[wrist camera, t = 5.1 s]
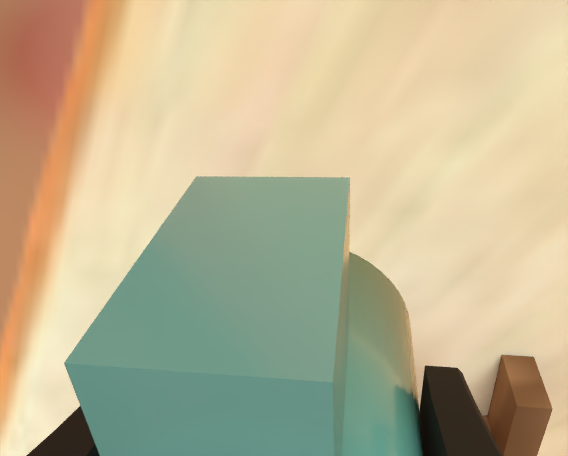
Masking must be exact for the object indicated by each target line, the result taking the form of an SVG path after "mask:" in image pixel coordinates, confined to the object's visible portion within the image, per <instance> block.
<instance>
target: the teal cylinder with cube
mask: <svg viewBox="0 0 568 456" xmlns="http://www.w3.org/2000/svg"><path fill="white" fill-rule="evenodd" d="M349 219H350V178H318V177H196V178H195V179H194V181H193V182H192V183H191V185H190V186H189V188H188V189H187V191H186V192H185V193H184V195H183V196H182V198H181V199H180V200H179V202H178V203H177V205H176V206H175V207H174V209H173V210H172V212H171V213H170V215H169V216H168V217H167V219H166V220H165V222H164V223H163V224H162V226H161V227H160V229H159V230H158V231H157V233H156V234H155V236H154V237H153V238H152V240H151V241H150V243H149V244H148V246H147V247H146V248H145V250H144V251H143V253H142V254H141V255H140V257H139V258H138V260H137V261H136V262H135V264H134V265H133V267H132V268H131V270H130V271H129V272H128V274H127V275H126V277H125V278H124V279H123V281H122V282H121V284H120V285H119V286H118V288H117V289H116V291H115V292H114V293H113V295H112V296H111V298H110V299H109V301H108V302H107V303H106V305H105V306H104V308H103V309H102V310H101V312H100V313H99V315H98V316H97V317H96V319H95V320H94V322H93V323H92V325H91V326H90V327H89V329H88V330H87V332H86V333H85V334H84V336H83V337H82V339H81V340H80V341H79V343H78V344H77V346H76V347H75V348H74V350H73V351H72V353H71V354H70V356H69V357H68V358H67V360H66V361H65V363H64V364H65V367H66V369H67V372H68V374H69V377H70V380H71V382H72V385H73V387H74V390H75V393H76V395H77V398H78V400H79V403H80V405H81V408H82V411H83V413H84V416H85V418H86V421H87V424H88V426H89V429H90V431H91V434H92V437H93V439H94V442H95V444H96V447H97V450H98V452H99V455H100V456H424V454H423V445H422V435H421V425H420V415H419V405H418V395H417V386H416V376H415V366H414V356H413V346H412V336H411V327H410V320H409V314H408V311H407V308H406V305H405V302H404V301H403V299H402V297H401V295H400V293H399V291H398V290H397V289H396V287H395V286H394V285H393V284H392V282H391V281H390V280H389V279H388V278H387V277H386V276H385V275H384V274H383V273H382V272H381V271H380V270H378V269H377V268H376V267H375V266H373V265H372V264H371V263H369V262H367V261H366V260H364V259H362V258H361V257H359V256H357V255H355V254H353V253H350V252H349Z"/></svg>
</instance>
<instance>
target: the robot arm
mask: <svg viewBox="0 0 568 456" xmlns="http://www.w3.org/2000/svg"><path fill="white" fill-rule="evenodd" d="M419 415H420V425H421V435H422V445H423V454H424V456H503V454H502V452H501V450H500V449H499V447H498V445H497V443H496V441H495V440H494V438H493V436H492V434H491V432H490V430H489V428H488V426H487V425H486V423H485V421H484V419H483V417H482V415H481V413H480V411H479V409H478V407H477V405H476V403H475V401H474V399H473V397H472V394H471V392H470V390H469V388H468V385H467V383H466V381H465V379H464V376H463V374H462V372H461V371H460V370H459V369H458V368H451V367H437V366H425V371H424V379H423V387H422V396H421V404H420V412H419ZM27 456H100V455H99V452H98V450H97V447H96V444H95V442H94V439H93V437H92V434H91V431H90V429H89V426H88V424H87V421H86V418H85V416H84V413H83V411H82V408H81V406H80V407H79V408H78V409H77V410H75V411H74V412H73V413H72V414H71V415H70V416H69V417H68V418H67V419H66V420H65V421H64V422H63V423H62V424H61V425H60V426H59V427H58V428H57V429H56V430H55V431H54V432H52V433H51V434H50V435H49V436H48V437H47V438H46V439H45V440H44V441H42V442H41V443H40V444H39V445H38V446H37V447H36V448H35V449H33V450H32V451H31V452H30V453H29V454H28V455H27Z"/></svg>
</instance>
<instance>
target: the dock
mask: <svg viewBox="0 0 568 456" xmlns="http://www.w3.org/2000/svg"><path fill="white" fill-rule="evenodd" d="M419 412H420V411H419ZM551 412H552V406H551V403H550V401H549V398H548V395H547V392H546V390H545V387H544V384H543V381H542V378H541V376H540V373H539V370H538V367H537V365H536V362H535V359H534V357H525V356H509V355H502V358H501V362H500V366H499V371H498V375H497V379H496V383H495V388H494V392H493V396H492V401H491V405H490V409H489V414H488V416H482V417H483V419H484V421H485V423H486V425H487V426H488V428H489V430H490V432H491V434H492V436H493V438H494V440H495V441H496V443H497V445H498V447H499V449H500V450H501V452H502V454H503V456H537V454H538V451H539V448H540V445H541V442H542V439H543V436H544V433H545V430H546V427H547V424H548V421H549V418H550V415H551Z"/></svg>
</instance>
